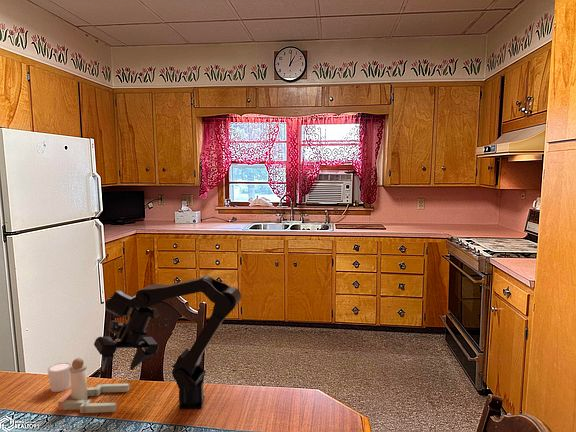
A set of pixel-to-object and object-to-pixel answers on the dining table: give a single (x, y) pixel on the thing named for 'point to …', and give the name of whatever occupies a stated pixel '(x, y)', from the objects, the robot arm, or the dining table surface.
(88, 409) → the rack
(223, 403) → the dining table surface
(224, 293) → the robot arm
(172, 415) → the dining table surface
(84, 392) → the pepper mill
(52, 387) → the shot glass
